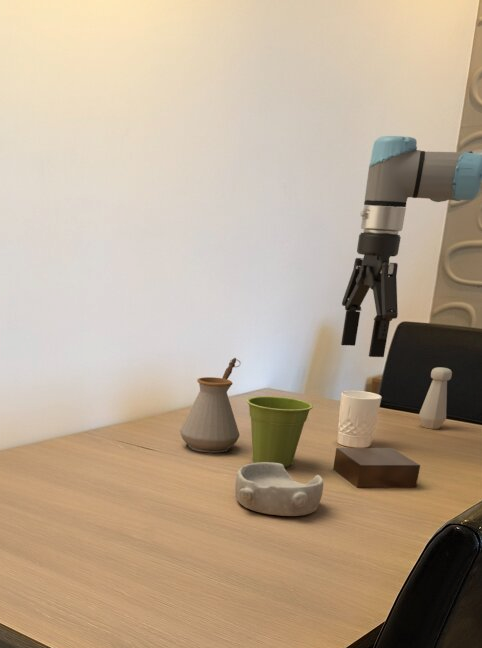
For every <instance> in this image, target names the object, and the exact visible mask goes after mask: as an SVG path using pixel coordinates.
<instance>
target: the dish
mask: <svg viewBox="0 0 482 648" xmlns="http://www.w3.org/2000/svg"><path fill="white" fill-rule="evenodd" d="M323 490H324V479H323V477H322V476H321V475H319V474H317V475H315V476H314V477H313V478H312V479H311V480H310V481H309V482H306V483H302V482H299V481H296V480H294V479H293V477H291V474H289V473H288V471H287V469H286V467H285V468H284V466H283V464H280V463H271V462H259V463H254V462H252V463H248V464H247V463H246V464H244V465H242V466H241V467H240V468H239V469H238V470H237V472H236V477H235V483H234V494H235V499H236V500H237V502H238V503H239V504H240V505H241V506H243V507H244V508H246V509H248V510H251V511H253V512H256V513H260V514H266V515H273V516H282V517H301V516H306V515H310V514H312V513H314V512H316V510H317V509H318V508H319V505H320V503H321V500H322V497H323V492H324V491H323Z"/></svg>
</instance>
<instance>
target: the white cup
mask: <svg viewBox="0 0 482 648" xmlns="http://www.w3.org/2000/svg"><path fill="white" fill-rule="evenodd" d="M340 395H341V396H340V401H339V402H340V403H339V404H340V405H339V410H338V411H339V413H338V422H337V423H338V424H337V429H338V430H337V437H336V442H337V444H338V445H341V446H344V447H346V448H370V447H371V445H372V440H373V436H374V432H375V428H376V425H377V421H378V417H379V411H380V407H381V402H382V397H383V396H382V395H380V394H378V393H375V392H370V391H363V390H344V391H341V394H340Z"/></svg>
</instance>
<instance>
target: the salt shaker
mask: <svg viewBox="0 0 482 648" xmlns="http://www.w3.org/2000/svg"><path fill="white" fill-rule="evenodd" d="M452 375H453V372H452V370H451V369H450V368H448V367H440V366H439V367H434V368H432V370H431V372H430V378H431V379H432V380H431V383H430V386H429V388H428V391H427V393H426V396H425V399H424V401H423V404H422V406H421V408H420V411H419V413H418V418H419V422H420V426H421V427H422V428H425V429H430V430H439V429H441V427H442V425H444V423H445V421H446V420H447V402H448V400H447V399H448V397H447V396H448V381H450V380H451V379H452Z"/></svg>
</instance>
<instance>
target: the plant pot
mask: <svg viewBox="0 0 482 648" xmlns="http://www.w3.org/2000/svg"><path fill="white" fill-rule="evenodd" d="M246 403H247V404H248V408H249V409H248V411H249V417H250V425H251V426H250V427H251V448H252V450H251V451H252V452H251V453H252V463H259V462H271V463H280V464H283V466H284V468H285V469H286V468H287V467H288V468H289V466H292V465H293V462H294V459H295V456H296V452H297V448H298V445H299V442H300V439H301V435H302V432H303V428H304V426H305V423H306V421H307V419H308V416H309V413H310V410H312V409H313V408H314V405H313V404H312V403H310V402H308V401H306V400H301V399H297V398H291V397H284V396H274V395H261V396H252V397H248V398H247V399H246Z"/></svg>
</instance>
